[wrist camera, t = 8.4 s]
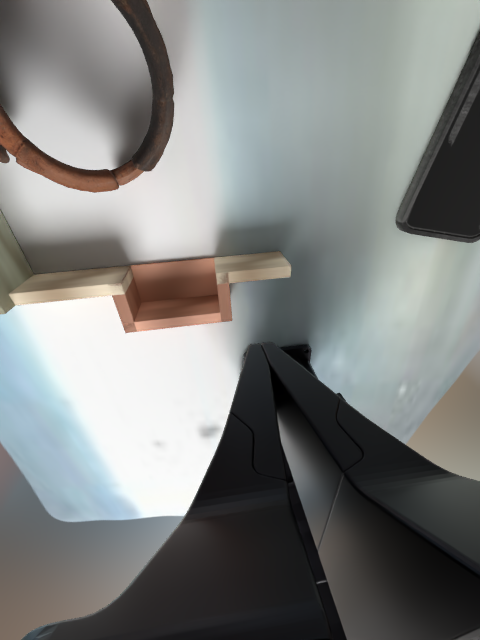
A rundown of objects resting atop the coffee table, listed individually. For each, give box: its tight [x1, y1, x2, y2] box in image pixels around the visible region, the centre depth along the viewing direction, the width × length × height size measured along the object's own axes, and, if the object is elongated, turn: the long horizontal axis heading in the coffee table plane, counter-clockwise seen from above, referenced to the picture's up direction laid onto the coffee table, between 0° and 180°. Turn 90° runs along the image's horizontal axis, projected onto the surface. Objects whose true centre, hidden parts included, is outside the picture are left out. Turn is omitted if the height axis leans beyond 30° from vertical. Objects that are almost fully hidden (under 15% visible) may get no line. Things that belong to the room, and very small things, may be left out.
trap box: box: [0, 210, 291, 333], centre depth 13 cm, size 18×22×4 cm
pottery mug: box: [0, 0, 174, 192], centre depth 12 cm, size 12×10×8 cm
